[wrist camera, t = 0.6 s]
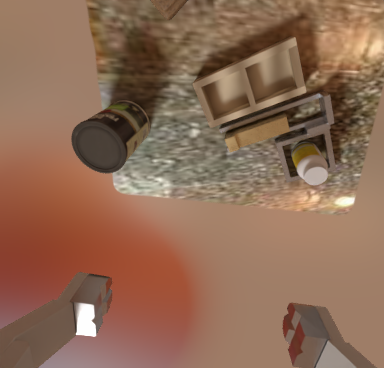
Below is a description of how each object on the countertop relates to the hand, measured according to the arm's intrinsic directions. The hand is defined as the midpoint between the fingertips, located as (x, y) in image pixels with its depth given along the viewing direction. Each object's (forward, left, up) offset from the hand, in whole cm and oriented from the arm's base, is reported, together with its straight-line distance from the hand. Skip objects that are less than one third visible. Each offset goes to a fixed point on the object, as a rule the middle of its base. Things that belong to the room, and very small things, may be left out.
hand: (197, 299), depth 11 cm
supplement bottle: (-11, +18, -44) cm, 49 cm away
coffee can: (+23, -2, -44) cm, 50 cm away
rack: (-4, 0, -44) cm, 44 cm away
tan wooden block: (-3, +9, -44) cm, 45 cm away
